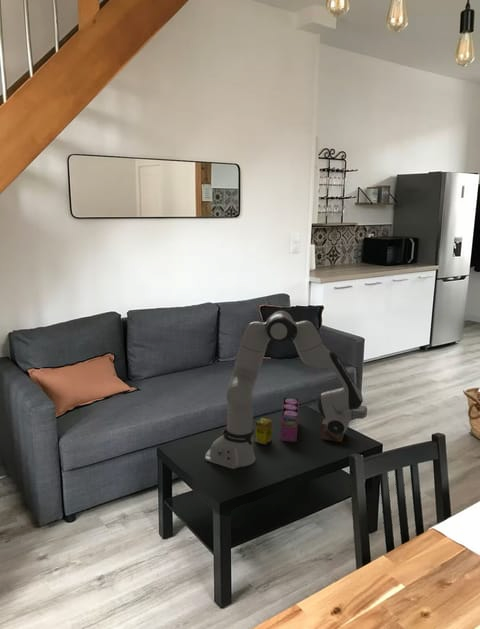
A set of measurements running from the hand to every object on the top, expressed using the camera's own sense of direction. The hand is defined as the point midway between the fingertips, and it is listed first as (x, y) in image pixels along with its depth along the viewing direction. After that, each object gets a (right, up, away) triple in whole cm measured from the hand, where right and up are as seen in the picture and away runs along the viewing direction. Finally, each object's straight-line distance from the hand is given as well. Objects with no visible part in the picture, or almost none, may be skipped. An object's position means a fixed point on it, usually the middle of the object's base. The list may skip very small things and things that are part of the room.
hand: (346, 403), depth 237 cm
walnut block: (-4, -19, +15) cm, 25 cm away
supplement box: (-38, -20, +8) cm, 44 cm away
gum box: (-24, -18, +20) cm, 36 cm away
